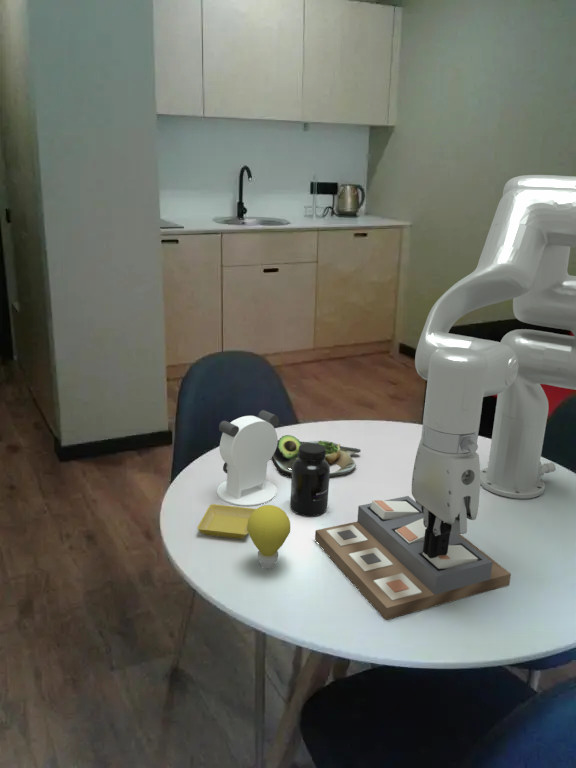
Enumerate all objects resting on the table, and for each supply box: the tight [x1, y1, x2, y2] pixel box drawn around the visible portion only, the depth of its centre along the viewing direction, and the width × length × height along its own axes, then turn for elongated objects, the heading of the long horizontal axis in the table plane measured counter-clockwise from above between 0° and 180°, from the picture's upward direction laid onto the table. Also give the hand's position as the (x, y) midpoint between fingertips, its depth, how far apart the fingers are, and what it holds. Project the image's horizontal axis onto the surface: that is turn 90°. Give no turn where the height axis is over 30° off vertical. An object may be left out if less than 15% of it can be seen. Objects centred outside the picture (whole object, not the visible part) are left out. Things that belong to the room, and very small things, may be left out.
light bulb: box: [247, 504, 291, 570], centre depth 103 cm, size 7×7×10 cm
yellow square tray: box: [196, 503, 257, 540], centre depth 115 cm, size 9×9×2 cm
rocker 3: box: [423, 545, 478, 569], centre depth 100 cm, size 7×4×2 cm, turn 114°
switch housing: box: [356, 495, 492, 595], centre depth 107 cm, size 10×22×3 cm, turn 24°
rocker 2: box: [395, 518, 427, 545], centre depth 106 cm, size 7×4×2 cm, turn 114°
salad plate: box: [272, 434, 362, 478], centre depth 142 cm, size 19×18×5 cm
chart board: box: [314, 521, 512, 621], centre depth 107 cm, size 22×22×2 cm
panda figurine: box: [216, 409, 280, 507], centre depth 126 cm, size 12×11×15 cm
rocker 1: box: [371, 499, 419, 519], centre depth 113 cm, size 7×4×2 cm, turn 114°
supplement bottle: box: [289, 443, 331, 517], centre depth 121 cm, size 7×7×12 cm
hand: (434, 553), depth 98 cm, fingers closed
